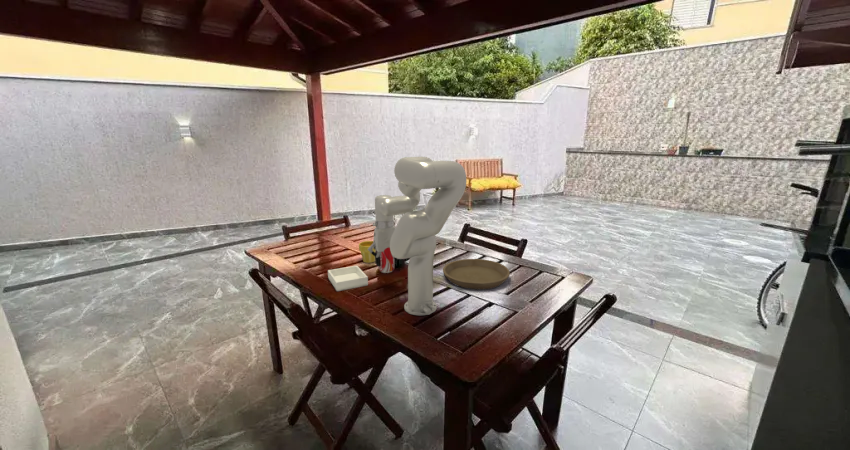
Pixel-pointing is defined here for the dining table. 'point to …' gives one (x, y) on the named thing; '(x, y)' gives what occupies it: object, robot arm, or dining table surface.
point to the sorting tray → (347, 278)
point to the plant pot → (366, 251)
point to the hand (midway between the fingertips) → (386, 263)
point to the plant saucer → (476, 273)
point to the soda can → (386, 261)
